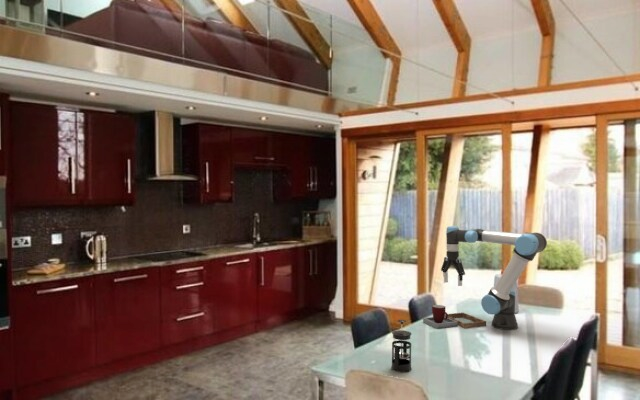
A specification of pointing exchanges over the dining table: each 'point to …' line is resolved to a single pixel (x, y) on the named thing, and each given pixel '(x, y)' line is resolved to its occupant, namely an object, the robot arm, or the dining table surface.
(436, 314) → the mug
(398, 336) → the french press
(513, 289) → the plastic bottle
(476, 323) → the brown wooden tray
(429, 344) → the dining table surface
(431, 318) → the tray
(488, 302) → the robot arm
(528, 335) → the dining table surface
